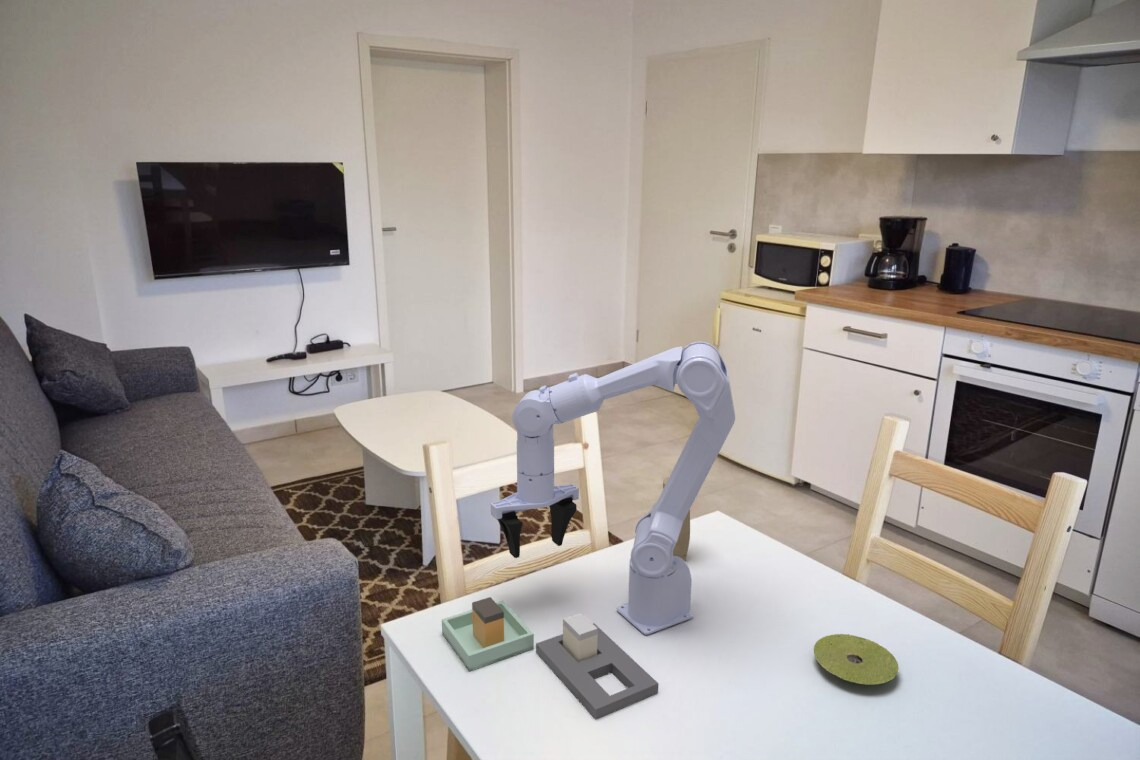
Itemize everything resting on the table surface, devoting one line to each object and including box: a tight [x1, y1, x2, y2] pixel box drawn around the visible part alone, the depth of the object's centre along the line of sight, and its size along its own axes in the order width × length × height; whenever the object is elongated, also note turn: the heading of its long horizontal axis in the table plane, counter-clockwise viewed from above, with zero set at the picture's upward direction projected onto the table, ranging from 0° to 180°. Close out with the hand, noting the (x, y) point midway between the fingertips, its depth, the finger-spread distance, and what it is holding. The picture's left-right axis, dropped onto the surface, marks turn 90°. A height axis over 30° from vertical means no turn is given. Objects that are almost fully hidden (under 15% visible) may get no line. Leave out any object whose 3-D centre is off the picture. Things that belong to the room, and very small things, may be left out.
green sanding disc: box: [813, 633, 900, 686], centre depth 106 cm, size 11×11×2 cm
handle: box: [662, 476, 691, 562], centre depth 133 cm, size 5×6×15 cm
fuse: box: [562, 612, 598, 662], centre depth 107 cm, size 3×4×6 cm, turn 31°
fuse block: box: [535, 622, 659, 720], centre depth 105 cm, size 10×16×2 cm, turn 31°
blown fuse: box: [471, 596, 504, 648], centre depth 110 cm, size 3×4×6 cm, turn 31°
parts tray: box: [441, 600, 535, 672], centre depth 111 cm, size 10×10×2 cm
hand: (536, 549), depth 118 cm, fingers open, 7 cm apart
